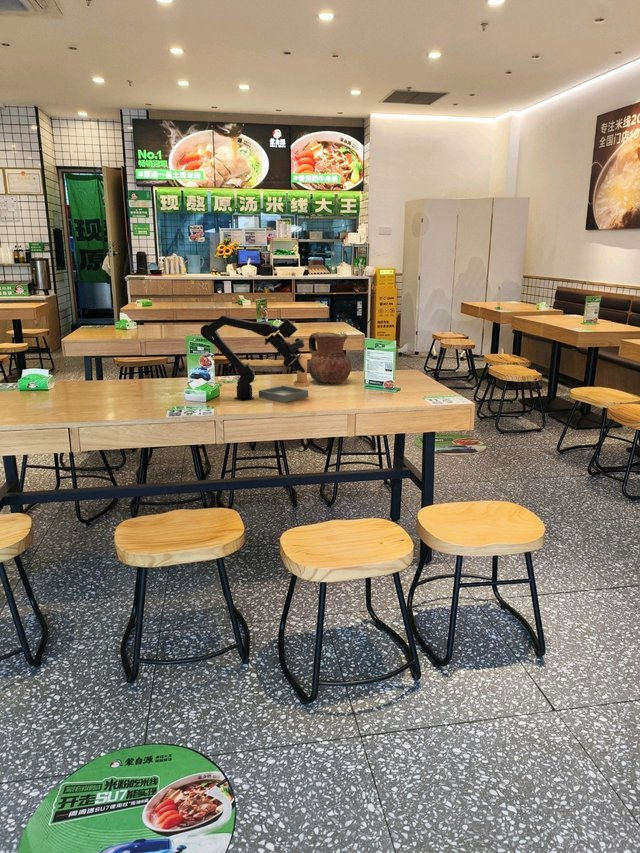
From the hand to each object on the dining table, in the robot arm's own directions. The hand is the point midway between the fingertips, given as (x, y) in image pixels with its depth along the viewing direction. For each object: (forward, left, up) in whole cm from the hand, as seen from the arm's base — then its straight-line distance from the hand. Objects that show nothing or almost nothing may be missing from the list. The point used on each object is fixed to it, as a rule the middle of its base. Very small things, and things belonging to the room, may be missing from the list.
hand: (305, 371), depth 278 cm
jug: (+37, +17, -13) cm, 43 cm away
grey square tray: (-3, +11, -13) cm, 17 cm away
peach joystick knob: (-1, +1, -7) cm, 7 cm away
